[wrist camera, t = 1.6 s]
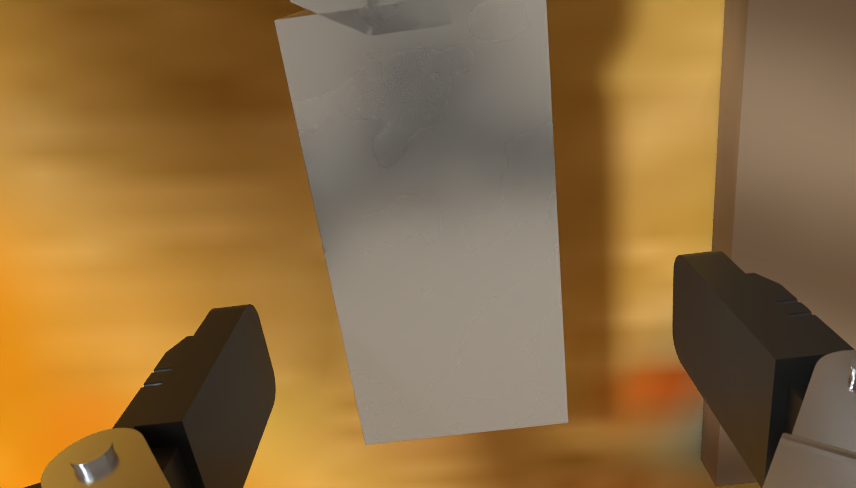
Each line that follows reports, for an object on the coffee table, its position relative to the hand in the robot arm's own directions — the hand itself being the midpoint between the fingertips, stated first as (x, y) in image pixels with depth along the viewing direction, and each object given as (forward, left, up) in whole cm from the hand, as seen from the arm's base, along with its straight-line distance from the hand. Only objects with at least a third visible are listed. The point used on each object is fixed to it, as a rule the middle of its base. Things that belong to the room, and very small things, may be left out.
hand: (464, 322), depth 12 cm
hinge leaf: (-4, 0, -6) cm, 7 cm away
